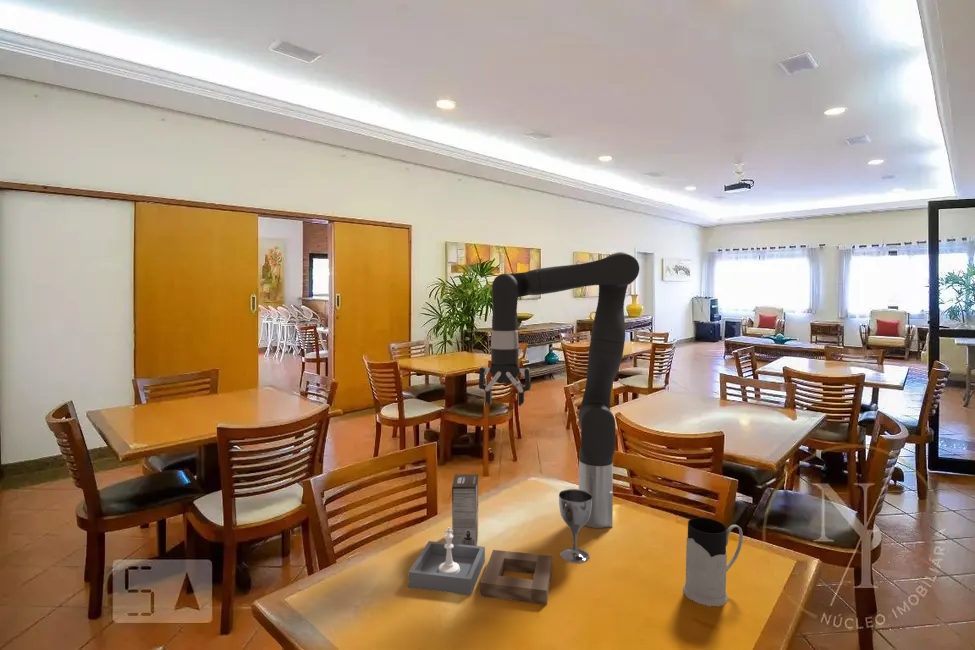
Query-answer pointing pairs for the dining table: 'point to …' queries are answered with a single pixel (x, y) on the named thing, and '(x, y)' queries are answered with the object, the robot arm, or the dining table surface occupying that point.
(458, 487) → the coffee box
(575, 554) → the wine glass
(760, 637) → the dining table surface
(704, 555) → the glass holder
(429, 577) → the tray
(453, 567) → the chess piece
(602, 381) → the robot arm
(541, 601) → the socket block
